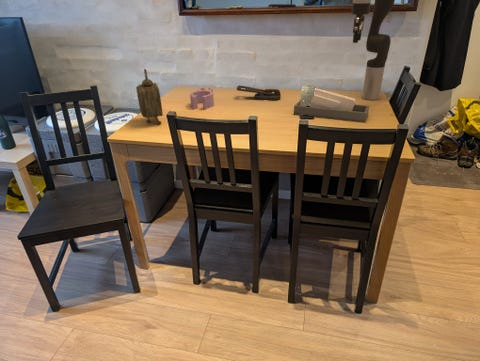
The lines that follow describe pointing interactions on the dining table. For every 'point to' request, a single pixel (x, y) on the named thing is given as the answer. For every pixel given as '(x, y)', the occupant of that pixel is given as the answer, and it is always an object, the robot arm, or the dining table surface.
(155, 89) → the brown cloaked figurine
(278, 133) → the dining table surface
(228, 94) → the dining table surface
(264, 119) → the dining table surface
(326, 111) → the grey rectangular tray
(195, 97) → the clip
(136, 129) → the dining table surface
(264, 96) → the black elongated piece
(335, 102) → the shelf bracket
